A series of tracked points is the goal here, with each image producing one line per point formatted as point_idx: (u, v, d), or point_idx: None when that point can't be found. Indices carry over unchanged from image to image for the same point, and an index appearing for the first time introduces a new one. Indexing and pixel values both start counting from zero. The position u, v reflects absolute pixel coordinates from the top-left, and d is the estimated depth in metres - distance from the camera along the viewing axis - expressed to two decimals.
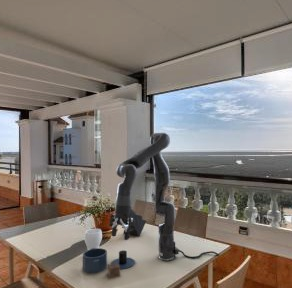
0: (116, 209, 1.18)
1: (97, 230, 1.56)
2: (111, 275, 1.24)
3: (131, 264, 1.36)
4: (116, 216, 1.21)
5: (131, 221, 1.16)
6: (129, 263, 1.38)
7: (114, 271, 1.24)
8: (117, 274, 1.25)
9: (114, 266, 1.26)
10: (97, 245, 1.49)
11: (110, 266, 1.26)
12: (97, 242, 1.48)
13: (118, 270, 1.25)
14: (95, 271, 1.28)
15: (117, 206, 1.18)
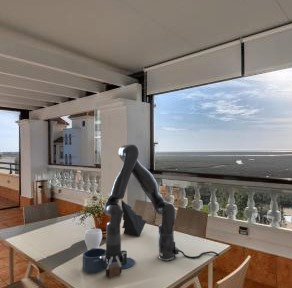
0: (113, 249, 1.23)
1: (97, 230, 1.56)
2: (111, 275, 1.24)
3: (131, 264, 1.36)
4: (108, 255, 1.25)
5: None
6: (129, 263, 1.38)
7: (114, 271, 1.24)
8: (117, 274, 1.25)
9: (114, 266, 1.26)
10: (97, 245, 1.49)
11: (110, 266, 1.26)
12: (97, 242, 1.48)
13: (118, 270, 1.25)
14: (95, 271, 1.28)
15: (114, 246, 1.24)
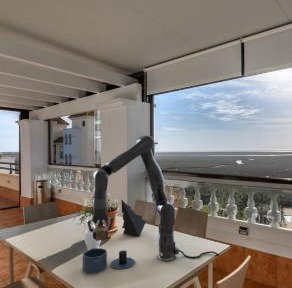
0: (100, 212, 1.29)
1: None
2: (97, 237, 1.29)
3: (131, 264, 1.36)
4: (95, 219, 1.30)
5: None
6: (129, 263, 1.38)
7: (100, 234, 1.30)
8: (103, 237, 1.30)
9: (101, 229, 1.31)
10: (97, 245, 1.49)
11: (97, 229, 1.31)
12: (97, 242, 1.48)
13: (104, 233, 1.31)
14: (95, 271, 1.28)
15: (101, 209, 1.29)
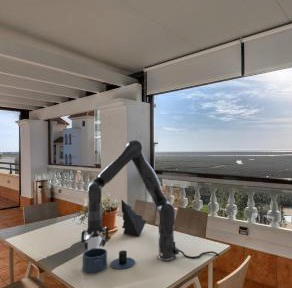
0: (94, 224, 1.31)
1: None
2: None
3: (131, 264, 1.36)
4: (89, 231, 1.33)
5: None
6: (129, 263, 1.38)
7: None
8: None
9: None
10: (97, 245, 1.49)
11: None
12: (97, 242, 1.48)
13: None
14: (95, 271, 1.28)
15: (95, 221, 1.32)
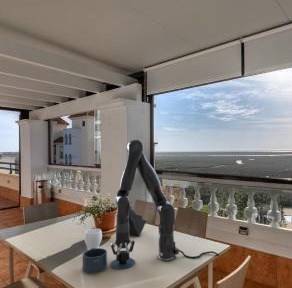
0: (123, 236, 1.35)
1: (97, 230, 1.56)
2: None
3: (131, 264, 1.36)
4: (118, 242, 1.37)
5: None
6: (129, 263, 1.38)
7: None
8: None
9: None
10: (97, 245, 1.49)
11: None
12: (97, 242, 1.48)
13: None
14: (95, 271, 1.28)
15: (124, 233, 1.36)
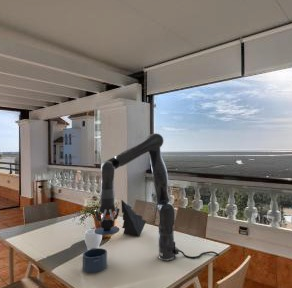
0: (107, 202, 1.33)
1: None
2: None
3: (115, 231, 1.34)
4: (102, 208, 1.35)
5: None
6: (113, 230, 1.36)
7: None
8: None
9: None
10: (97, 245, 1.49)
11: None
12: (97, 242, 1.48)
13: None
14: (95, 271, 1.28)
15: (108, 199, 1.34)
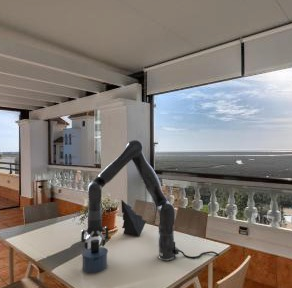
0: (94, 224, 1.31)
1: None
2: None
3: (103, 253, 1.32)
4: (89, 230, 1.33)
5: None
6: (101, 252, 1.34)
7: None
8: None
9: None
10: None
11: None
12: None
13: None
14: (95, 271, 1.28)
15: (95, 221, 1.32)
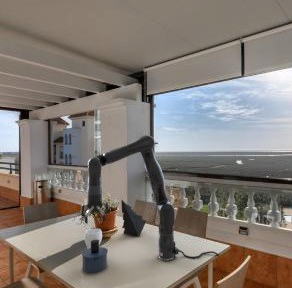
0: (94, 199, 1.32)
1: (97, 230, 1.56)
2: None
3: (103, 253, 1.32)
4: (89, 205, 1.33)
5: None
6: (101, 252, 1.34)
7: None
8: None
9: None
10: None
11: None
12: None
13: None
14: (95, 271, 1.28)
15: (95, 196, 1.32)
